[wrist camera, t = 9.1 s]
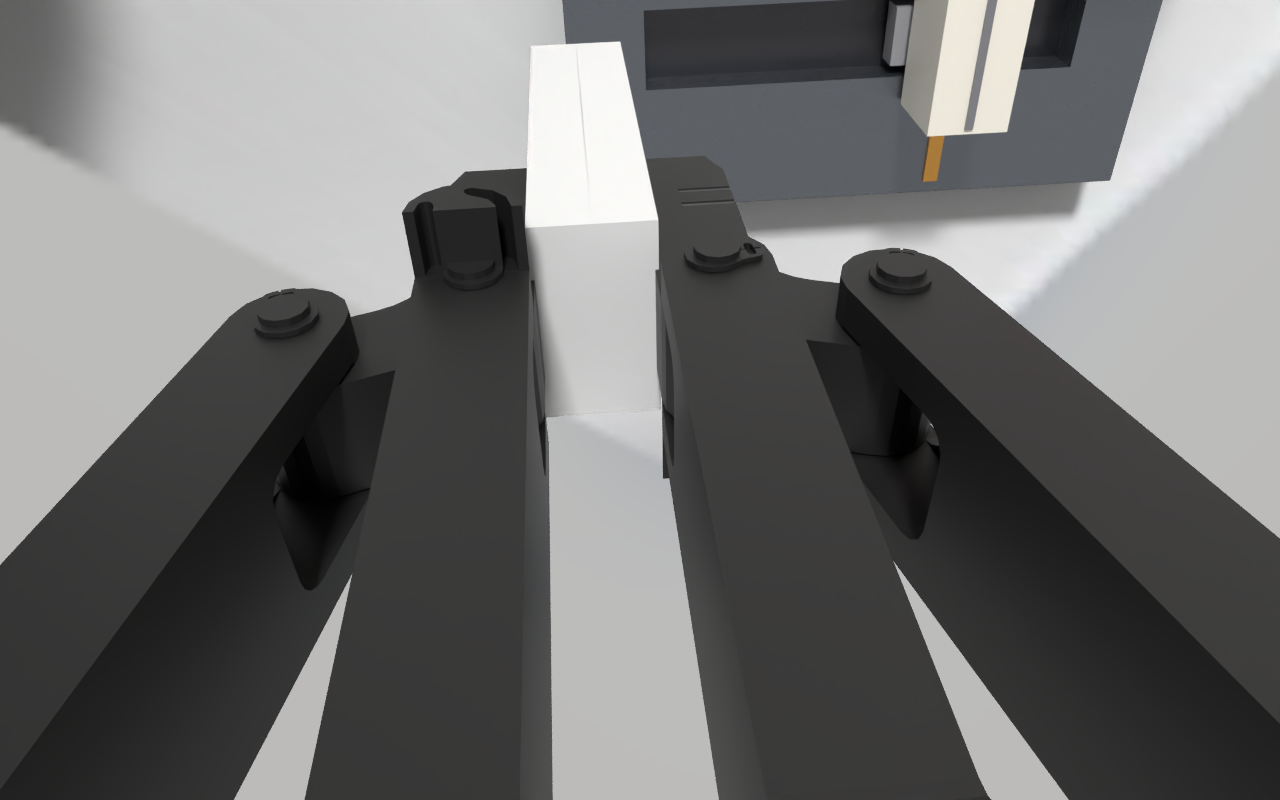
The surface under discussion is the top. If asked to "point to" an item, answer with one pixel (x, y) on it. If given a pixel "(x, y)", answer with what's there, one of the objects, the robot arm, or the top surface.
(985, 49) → the fader
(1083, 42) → the console
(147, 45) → the top surface
